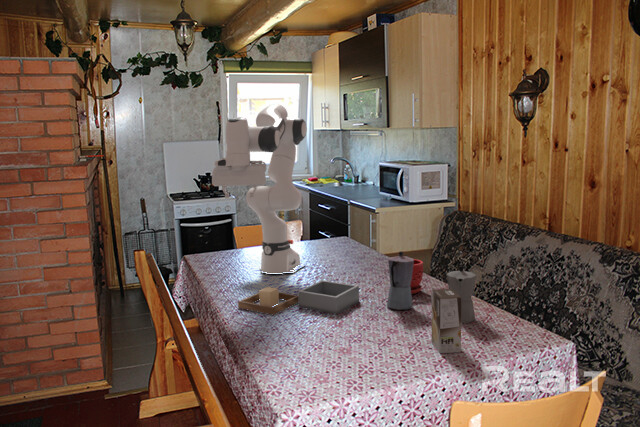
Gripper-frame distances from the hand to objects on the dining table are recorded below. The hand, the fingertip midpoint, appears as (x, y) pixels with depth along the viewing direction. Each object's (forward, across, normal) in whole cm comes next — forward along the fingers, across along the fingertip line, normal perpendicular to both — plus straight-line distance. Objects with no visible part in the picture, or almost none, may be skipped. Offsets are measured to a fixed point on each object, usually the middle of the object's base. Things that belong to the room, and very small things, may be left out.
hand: (239, 197), depth 204 cm
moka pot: (+39, -57, +23) cm, 72 cm away
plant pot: (+38, -63, +4) cm, 74 cm away
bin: (+38, -32, +16) cm, 52 cm away
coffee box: (+39, -62, +59) cm, 94 cm away
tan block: (+39, -10, +13) cm, 42 cm away
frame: (+39, -10, +13) cm, 42 cm away
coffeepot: (+39, -74, +36) cm, 91 cm away
